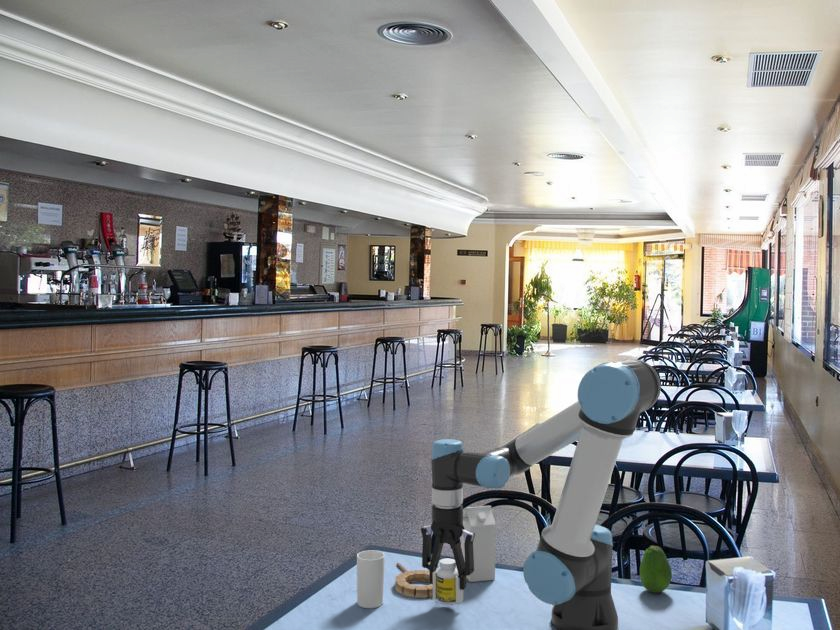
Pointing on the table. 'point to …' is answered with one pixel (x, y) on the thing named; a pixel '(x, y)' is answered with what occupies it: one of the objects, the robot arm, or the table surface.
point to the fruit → (655, 570)
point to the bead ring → (413, 590)
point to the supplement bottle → (447, 582)
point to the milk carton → (481, 542)
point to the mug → (370, 578)
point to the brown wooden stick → (401, 567)
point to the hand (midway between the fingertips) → (448, 599)
